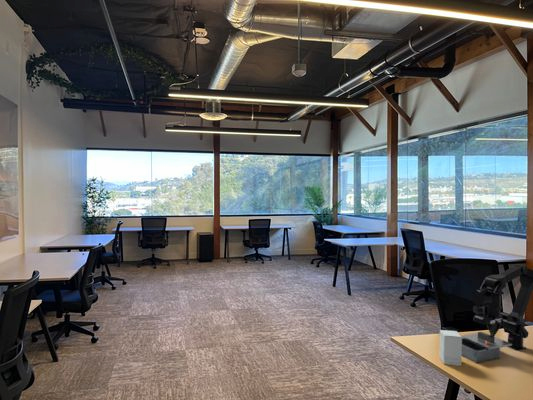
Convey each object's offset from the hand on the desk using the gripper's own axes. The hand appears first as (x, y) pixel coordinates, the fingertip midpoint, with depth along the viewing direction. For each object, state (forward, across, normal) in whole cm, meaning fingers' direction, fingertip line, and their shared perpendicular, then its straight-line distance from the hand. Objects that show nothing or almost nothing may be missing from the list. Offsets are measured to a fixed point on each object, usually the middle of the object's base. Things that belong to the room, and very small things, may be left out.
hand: (492, 336), depth 173 cm
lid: (+2, +4, 0) cm, 5 cm away
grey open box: (+7, +11, 0) cm, 13 cm away
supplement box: (+8, +28, +2) cm, 29 cm away
